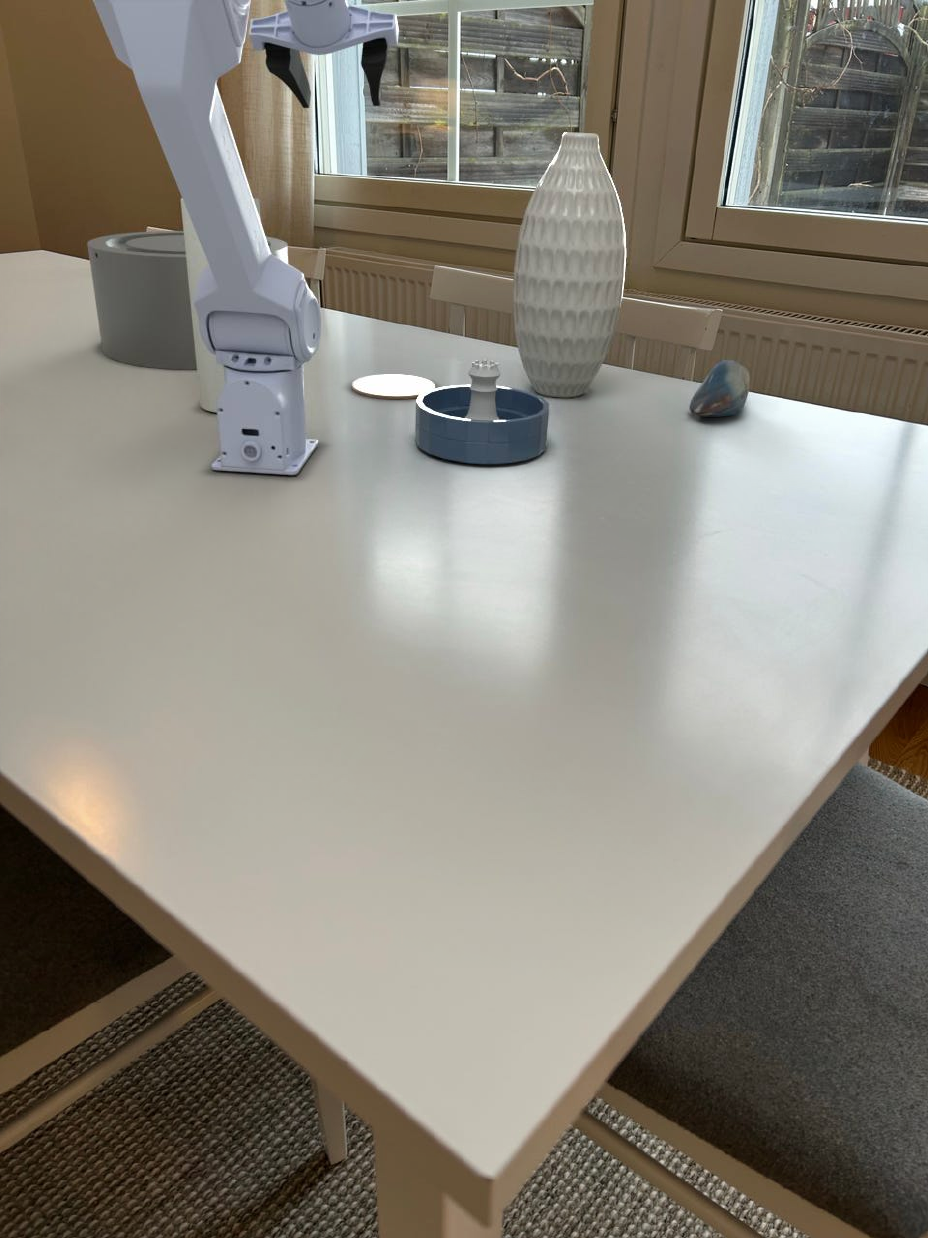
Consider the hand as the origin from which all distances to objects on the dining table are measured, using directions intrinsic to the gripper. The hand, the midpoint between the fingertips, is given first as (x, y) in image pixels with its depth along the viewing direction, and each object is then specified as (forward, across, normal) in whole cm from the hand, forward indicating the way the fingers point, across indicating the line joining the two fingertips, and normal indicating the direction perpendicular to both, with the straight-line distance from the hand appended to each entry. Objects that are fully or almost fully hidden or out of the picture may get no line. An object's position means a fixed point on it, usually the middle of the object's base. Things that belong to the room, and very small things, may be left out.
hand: (342, 99), depth 101 cm
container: (+30, +26, +11) cm, 41 cm away
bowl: (+7, -16, +37) cm, 41 cm away
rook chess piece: (+7, -16, +37) cm, 41 cm away
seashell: (+21, -43, +26) cm, 54 cm away
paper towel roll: (+12, +12, +30) cm, 35 cm away
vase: (+24, -24, +21) cm, 40 cm away
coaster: (+21, -4, +22) cm, 31 cm away
